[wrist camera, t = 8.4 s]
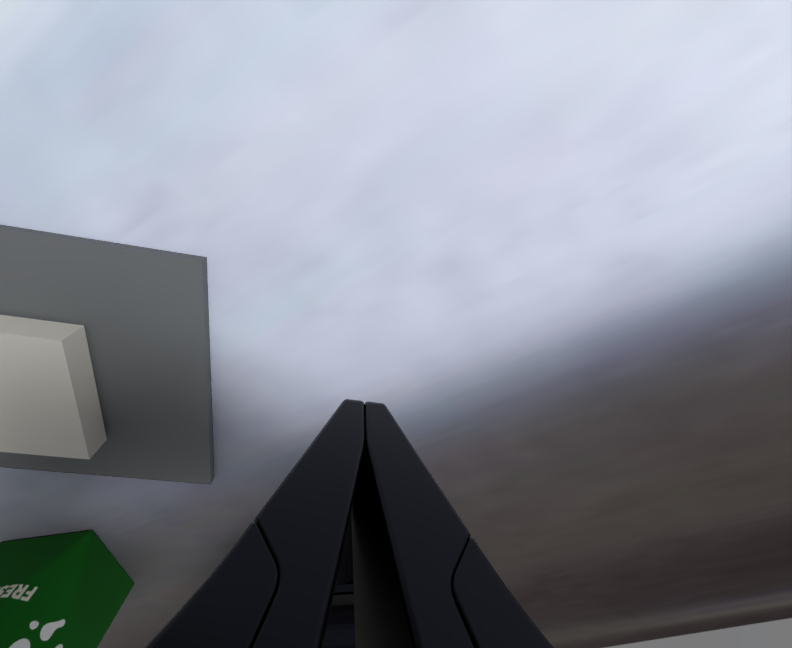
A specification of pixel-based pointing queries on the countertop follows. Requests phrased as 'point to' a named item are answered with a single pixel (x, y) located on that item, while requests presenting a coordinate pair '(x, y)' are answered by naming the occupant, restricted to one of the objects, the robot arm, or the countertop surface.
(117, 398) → the mat
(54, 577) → the milk carton
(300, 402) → the countertop surface
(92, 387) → the tile
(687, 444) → the countertop surface
